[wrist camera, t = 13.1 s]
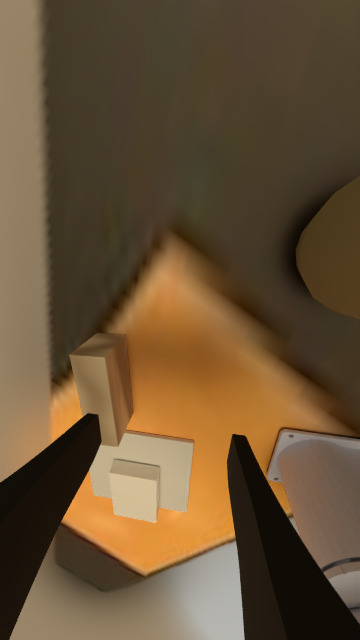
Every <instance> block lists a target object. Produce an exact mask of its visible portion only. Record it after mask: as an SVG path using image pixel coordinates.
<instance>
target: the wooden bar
mask: <svg viewBox="0 0 360 640" xmlns="http://www.w3.org/2000/svg"><path fill="white" fill-rule="evenodd" d="M70 360H71V364H72V369H73V373H74V378H75V382H76V387H77V391H78V396H79V400H80V405H81V409H82V414H83V417H84V416H85V415H86V414H87V413H92V414H98V416H99V423H100V431H101V438H102V442H101V445H105V446H113V447H118V446H119V444H120V442H121V439H122V437H123V435H124V433H125V430H126V428H127V426H128V423H129V421H130V419H131V417H132V414H133V412H134V411H133V401H132V391H131V381H130V371H129V361H128V351H127V341H126V335H124V334H108V333H97V334H95V335H94V336H93V337H91V338H90V339H89V340H88V341H86V342H85V343H84V344H83V345H81V346H80V347H79V348H77V349H76V350H75V351H74V352H72V353H71V354H70Z"/></svg>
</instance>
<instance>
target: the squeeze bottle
mask: <svg viewBox="0 0 360 640" xmlns="http://www.w3.org/2000/svg"><path fill="white" fill-rule="evenodd" d="M296 265H297V268H298V270H299V272H300V274H301V277H302V279H303V280H304V282H305V284H306V286H307V288H308V290H309V291H310V293H311V295H312V297H313V298H314V299H316V300H317V301H319V302H320V303H322V304H323V305H325V306H326V307H328V308H329V309H330V310H332V311H335V312H338V313H341V314H344V315H347V316H350V317H353V318H356V319H359V320H360V176H358V177H357V178H356V179H354V180H353V181H351V182H350V183H348V184H347V185H345V186H344V187H342V188H341V189H340V190H338V191H337V192H335V193H334V194H333V195H332V196H331V197H330V198H329V200H328V201H327V202H326V203H325V204H324V206H323V207H322V208H321V209H320V210H319V212H318V213H317V214H316V215H315V216H314V218H313V219H312V220H311V221H310V223H309V224H308V225H307V227H306V228H305V229H304V230H303V232H302V233H301V236H300V239H299V241H298V244H297V247H296Z"/></svg>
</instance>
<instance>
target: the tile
mask: <svg viewBox="0 0 360 640" xmlns="http://www.w3.org/2000/svg"><path fill="white" fill-rule="evenodd" d="M159 472H160V467H157V466H151V465H145V464H139V463H133V462H127V461H121V460H114V462H113V464H112V467H111V469H110V471H109V477H110V485H111V493H112V501H113V509H114V515H118V516H123V517H129V518H134V519H139V520H144V521H149V522H154V523H156V522H157V516H158V511H159Z"/></svg>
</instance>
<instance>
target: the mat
mask: <svg viewBox="0 0 360 640" xmlns="http://www.w3.org/2000/svg"><path fill="white" fill-rule="evenodd" d="M193 446H194V440H188V439H182V438H175V437H169V436H162V435H155V434H149V433H142V432H136V431H129V430H125V433H124V435H123V437H122V439H121V442H120V444H119V446H118V447H113V446H105V445H100V447H99V450H98V452H97V454H96V457H95V459H94V461H93V463H92V465H91V467H90V469H89V471H90V476H91V482H92V487H93V493H94V495H96V496H101V497H107V498H112V493H111V485H110V477H109V471H110V469H111V467H112V464H113V462H114V460H121V461H127V462H133V463H139V464H145V465H151V466H157V467H160V472H159V507H160V508H165V509H170V510H176V511H181V512H186V513H187V503H188V494H189V484H190V474H191V465H192V455H193Z"/></svg>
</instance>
